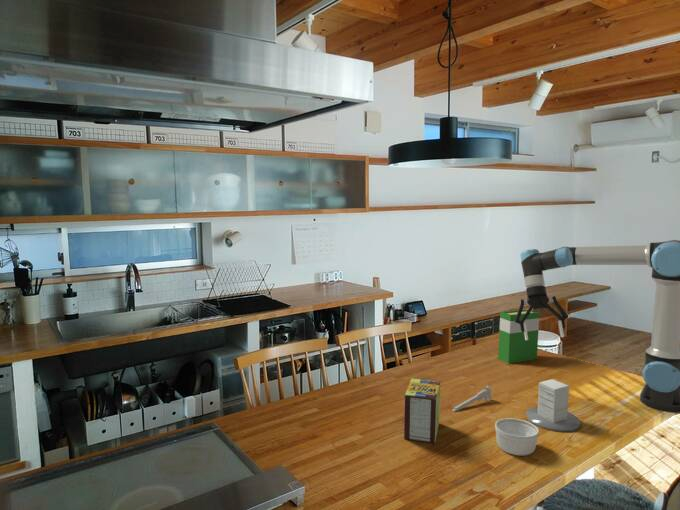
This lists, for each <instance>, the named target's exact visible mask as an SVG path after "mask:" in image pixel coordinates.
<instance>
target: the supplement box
mask: <svg viewBox="0 0 680 510" xmlns="http://www.w3.org/2000/svg"><path fill="white" fill-rule="evenodd" d="M569 390H570V386H569V385H568V384H565V383H563V382H560V381H559V380H555V379H553V378H552V379H547V380H544V381H543V380H542V381H540V382H538V392H537V393H538V394H537V395H538V396H537V407H538V410H537V415H538V416H540V417H542V418H544V419H546V420H548V421H550V422H552V423H555V422H558V421H562V420H565V419H567V412H569V411H568V407H569Z"/></svg>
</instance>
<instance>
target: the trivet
mask: <svg viewBox="0 0 680 510" xmlns="http://www.w3.org/2000/svg"><path fill="white" fill-rule="evenodd" d="M537 410H538V406H535V407H531V408H529V409H527V410H526V412H525V418H526V417H527V418H526V420H527V419H528V420H529V421H530V423H531V422H532V423H533V425H534V424H535V426H536V425H537V426H536V427H538V426H540V427H539V428H541V427H542V428H541V429H543V428H546V429H545V430H547V429H549V430H548V431H551V430H552V431H551V432H558V431H559V432H560V433H568V432H574V431H578V429H580V428H581V420H580V418H579V417H578V416H576V415H575V414H573V413H571V412H570V411H567V419H565V420H562V421H558V422H555V423H552V422H550V421H548V420H546V419H544V418H542V417H540V416H538V415H537ZM529 421H528V422H529Z"/></svg>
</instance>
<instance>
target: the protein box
mask: <svg viewBox="0 0 680 510" xmlns="http://www.w3.org/2000/svg"><path fill="white" fill-rule="evenodd" d="M440 407H441V381H438V380H437V381H436V380H428V379H419V378H410V381H409V384H408V386H407V389H406V391H405V394H404V420H403V421H404V427H403V428H404V429H403V431H404V432H403V433H404V434H403V439H404V440H410V441H411V440H412V441H417V442H422V443H423V442H424V443H431V444H436V440H437V437H438V436H437V435H438V430H439V425H440V409H441V408H440Z"/></svg>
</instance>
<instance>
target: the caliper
mask: <svg viewBox="0 0 680 510" xmlns="http://www.w3.org/2000/svg"><path fill="white" fill-rule="evenodd" d="M491 392H492V391H491V387H490V386H489V385H486V386H484V389H483V390H480V391H479V392H477V393H476V394H475V395H474V396H472V397H469V398H468V399H467V400H465V401H463V402H461V403H459V404H458V405H455V406H454V408H453V409H452V410H451V411H452V412H454V413H455V412H458V411H460V410H463V409H464V408H466V407H467V406H469V405H471V404H473V403H475V402H476V401H481V400H482V399H483V400H484V401H485V402H488V401H490V400H492V399H491V394H492V393H491Z"/></svg>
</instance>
